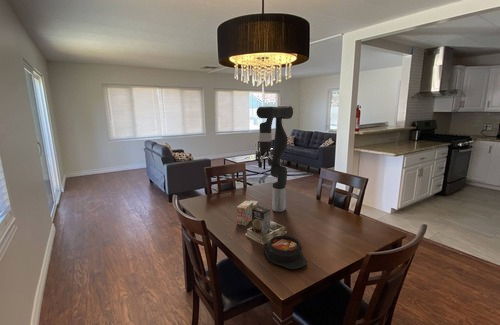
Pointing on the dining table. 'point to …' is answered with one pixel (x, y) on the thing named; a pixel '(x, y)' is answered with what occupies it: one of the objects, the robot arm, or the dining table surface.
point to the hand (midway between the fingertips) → (265, 166)
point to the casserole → (285, 252)
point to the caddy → (274, 231)
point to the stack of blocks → (245, 212)
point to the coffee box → (261, 220)
